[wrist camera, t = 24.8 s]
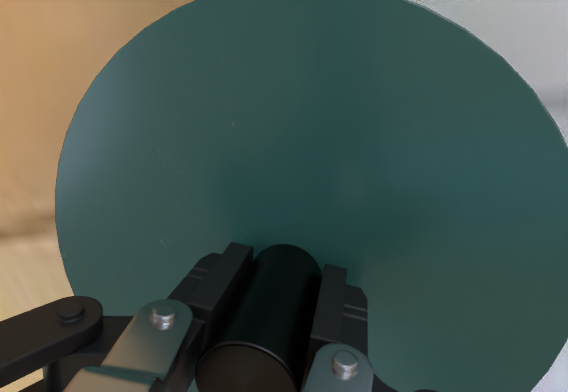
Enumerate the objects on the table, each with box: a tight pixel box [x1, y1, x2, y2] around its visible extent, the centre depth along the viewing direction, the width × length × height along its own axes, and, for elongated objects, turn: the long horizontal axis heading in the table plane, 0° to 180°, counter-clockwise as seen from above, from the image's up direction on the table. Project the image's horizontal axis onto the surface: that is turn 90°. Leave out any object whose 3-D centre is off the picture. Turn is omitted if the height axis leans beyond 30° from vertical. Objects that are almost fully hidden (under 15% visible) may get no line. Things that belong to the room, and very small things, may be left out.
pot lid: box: [55, 0, 568, 392], centre depth 11 cm, size 18×18×6 cm
